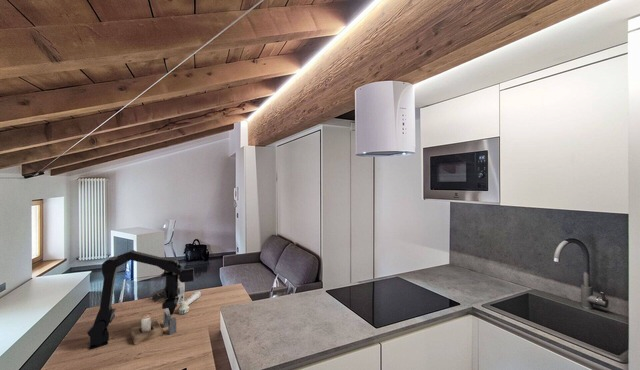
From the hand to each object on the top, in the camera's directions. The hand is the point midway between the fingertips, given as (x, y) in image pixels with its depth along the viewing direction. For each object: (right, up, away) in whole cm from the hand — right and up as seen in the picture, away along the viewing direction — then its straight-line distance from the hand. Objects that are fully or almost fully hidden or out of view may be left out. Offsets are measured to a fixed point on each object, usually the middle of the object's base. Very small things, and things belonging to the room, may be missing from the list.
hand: (171, 314), depth 140 cm
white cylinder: (-11, -9, -3) cm, 14 cm away
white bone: (-4, -9, +30) cm, 32 cm away
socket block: (-11, -9, -3) cm, 14 cm away
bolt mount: (-2, -9, +2) cm, 9 cm away
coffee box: (-16, -8, +34) cm, 39 cm away
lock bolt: (-3, -1, +3) cm, 5 cm away
